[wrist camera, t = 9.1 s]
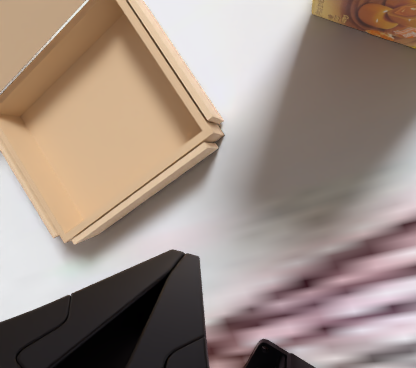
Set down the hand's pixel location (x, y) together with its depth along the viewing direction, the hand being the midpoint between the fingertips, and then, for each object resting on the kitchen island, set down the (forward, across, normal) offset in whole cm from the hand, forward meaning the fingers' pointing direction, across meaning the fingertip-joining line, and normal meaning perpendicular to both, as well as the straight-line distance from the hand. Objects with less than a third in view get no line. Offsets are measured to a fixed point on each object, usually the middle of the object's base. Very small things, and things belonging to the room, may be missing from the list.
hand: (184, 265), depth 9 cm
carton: (+14, +11, 0) cm, 18 cm away
